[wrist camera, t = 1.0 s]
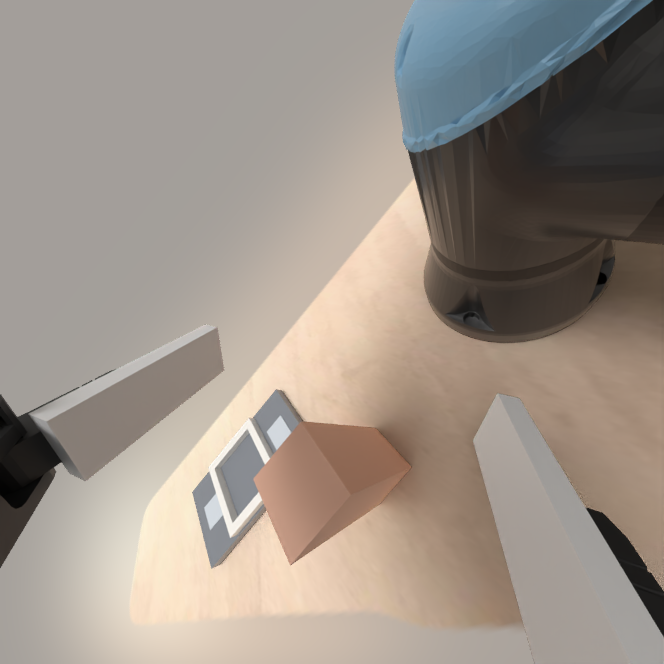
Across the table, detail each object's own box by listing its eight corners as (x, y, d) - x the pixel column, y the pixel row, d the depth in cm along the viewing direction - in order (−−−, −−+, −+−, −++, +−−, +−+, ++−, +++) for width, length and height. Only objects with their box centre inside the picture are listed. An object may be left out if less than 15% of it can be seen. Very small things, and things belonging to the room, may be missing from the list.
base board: (281, 390, 35) (271, 388, 33) (319, 445, 29) (309, 446, 27) (199, 490, 36) (185, 493, 34) (220, 564, 30) (203, 572, 28)
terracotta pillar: (375, 428, 26) (300, 421, 15) (411, 467, 23) (350, 495, 12) (347, 461, 26) (253, 479, 15) (379, 504, 23) (290, 565, 12)
